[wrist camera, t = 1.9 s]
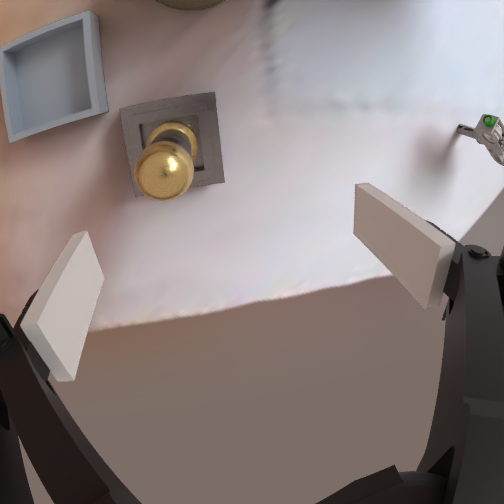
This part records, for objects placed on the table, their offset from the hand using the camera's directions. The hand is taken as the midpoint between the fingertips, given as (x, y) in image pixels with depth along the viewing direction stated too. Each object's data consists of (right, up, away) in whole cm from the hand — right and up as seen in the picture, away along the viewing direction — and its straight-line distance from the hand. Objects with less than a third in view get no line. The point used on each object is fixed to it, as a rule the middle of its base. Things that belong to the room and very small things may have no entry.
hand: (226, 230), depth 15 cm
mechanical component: (+34, +18, +24) cm, 45 cm away
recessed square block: (-8, +12, +19) cm, 24 cm away
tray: (-21, +19, +12) cm, 31 cm away
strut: (-7, +10, +17) cm, 21 cm away
